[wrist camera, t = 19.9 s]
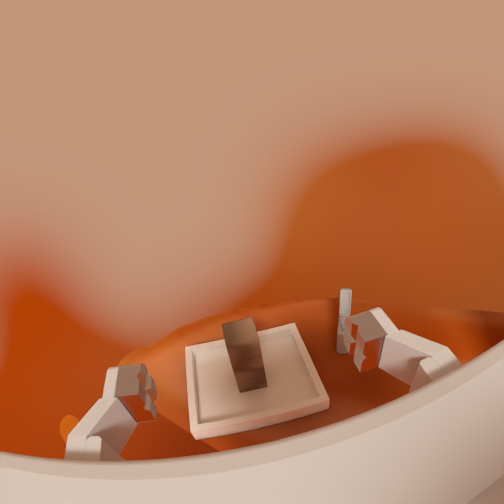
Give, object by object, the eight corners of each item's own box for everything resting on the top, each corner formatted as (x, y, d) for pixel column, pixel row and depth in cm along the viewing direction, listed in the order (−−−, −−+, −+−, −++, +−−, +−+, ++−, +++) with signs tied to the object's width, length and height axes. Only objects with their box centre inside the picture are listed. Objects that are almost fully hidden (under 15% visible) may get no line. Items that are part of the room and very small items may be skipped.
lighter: (346, 353, 44) (350, 315, 41) (335, 353, 45) (338, 315, 41) (349, 323, 50) (351, 285, 46) (339, 322, 51) (340, 285, 47)
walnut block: (261, 366, 44) (252, 317, 39) (267, 386, 41) (259, 338, 36) (235, 372, 44) (221, 324, 39) (239, 393, 40) (225, 345, 35)
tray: (295, 333, 50) (294, 322, 49) (328, 408, 37) (329, 399, 35) (189, 356, 49) (185, 346, 47) (195, 439, 35) (190, 431, 34)
